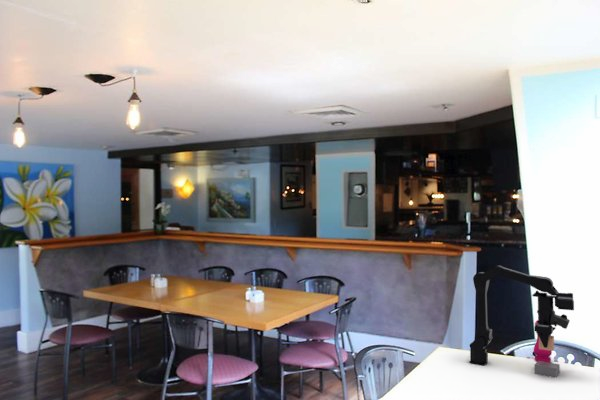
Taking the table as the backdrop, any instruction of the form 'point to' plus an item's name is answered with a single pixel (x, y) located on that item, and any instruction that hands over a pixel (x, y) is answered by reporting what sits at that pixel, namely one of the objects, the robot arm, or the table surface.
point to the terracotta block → (550, 344)
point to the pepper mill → (541, 352)
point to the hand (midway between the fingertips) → (546, 346)
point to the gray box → (547, 369)
